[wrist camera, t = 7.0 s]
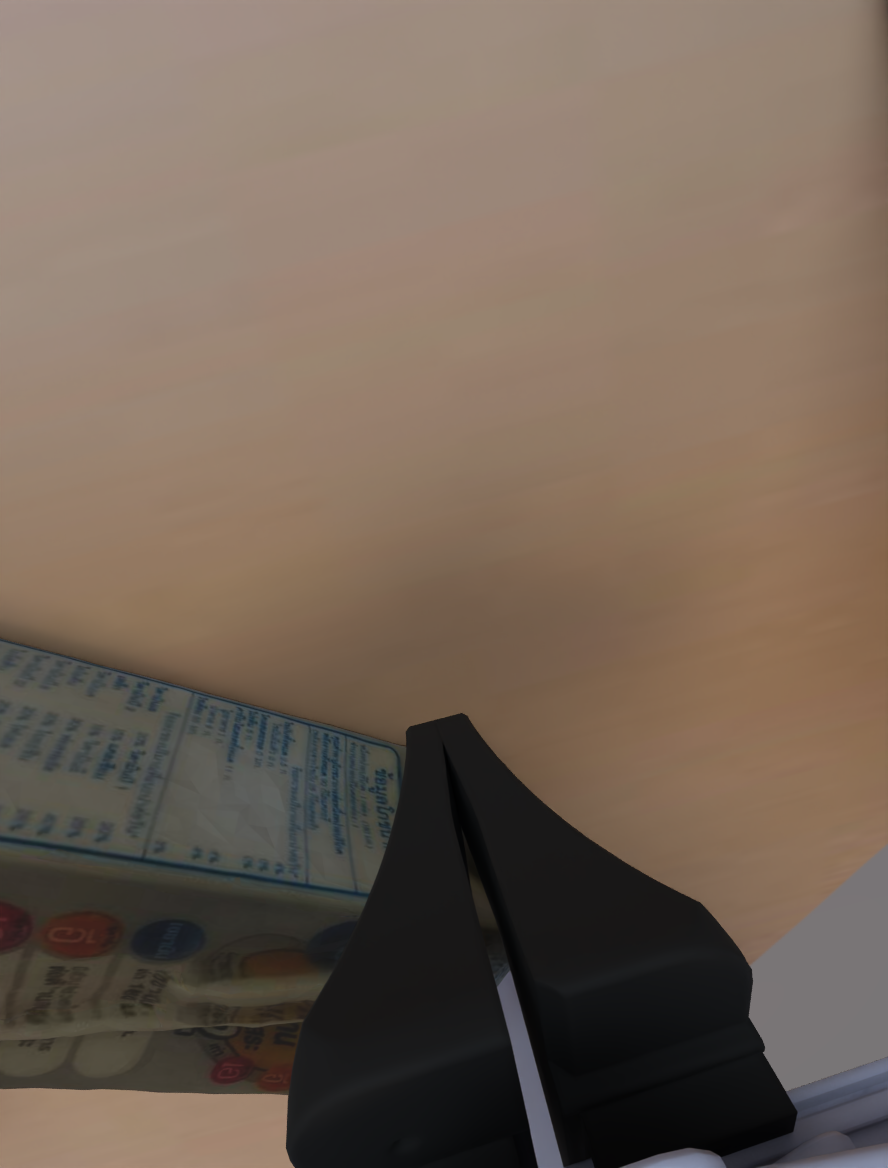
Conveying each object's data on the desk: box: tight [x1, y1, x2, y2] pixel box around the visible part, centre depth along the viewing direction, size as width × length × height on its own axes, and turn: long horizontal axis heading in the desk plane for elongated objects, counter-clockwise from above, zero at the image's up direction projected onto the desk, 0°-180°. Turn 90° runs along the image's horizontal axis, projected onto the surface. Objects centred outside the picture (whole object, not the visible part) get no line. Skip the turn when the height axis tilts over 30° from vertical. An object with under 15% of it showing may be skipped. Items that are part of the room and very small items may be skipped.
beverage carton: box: [0, 639, 510, 1095], centre depth 14 cm, size 8×19×7 cm, turn 63°
